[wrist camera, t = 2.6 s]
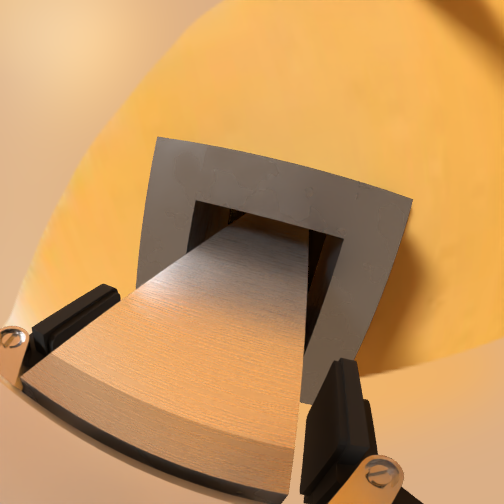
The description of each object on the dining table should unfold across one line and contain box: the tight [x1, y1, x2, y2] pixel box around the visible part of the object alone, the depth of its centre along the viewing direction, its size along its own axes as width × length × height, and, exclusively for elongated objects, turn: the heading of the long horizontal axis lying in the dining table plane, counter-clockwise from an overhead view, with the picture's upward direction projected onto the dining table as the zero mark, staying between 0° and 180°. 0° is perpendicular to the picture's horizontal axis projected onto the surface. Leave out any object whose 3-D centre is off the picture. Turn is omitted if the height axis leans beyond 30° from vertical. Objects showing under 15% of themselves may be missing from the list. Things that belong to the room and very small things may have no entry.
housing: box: [136, 137, 413, 405], centre depth 21 cm, size 19×14×10 cm
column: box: [20, 213, 309, 504], centre depth 15 cm, size 5×6×22 cm
